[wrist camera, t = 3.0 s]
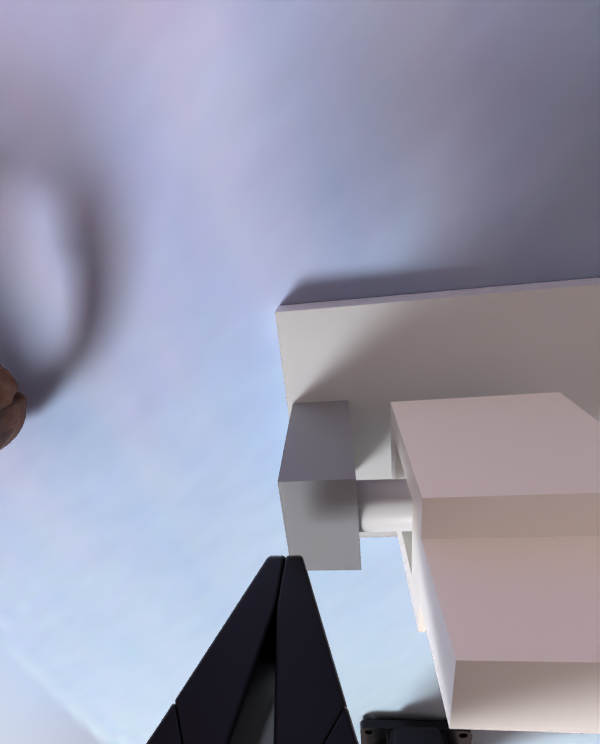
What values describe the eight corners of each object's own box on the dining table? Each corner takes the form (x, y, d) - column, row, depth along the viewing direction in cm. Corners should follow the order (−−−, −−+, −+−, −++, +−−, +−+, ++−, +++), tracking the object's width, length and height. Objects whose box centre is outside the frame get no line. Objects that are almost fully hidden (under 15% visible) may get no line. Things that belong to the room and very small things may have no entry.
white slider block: (391, 507, 13) (446, 761, 7) (390, 401, 12) (460, 612, 5) (539, 503, 13) (736, 774, 7) (559, 391, 11) (848, 612, 5)
